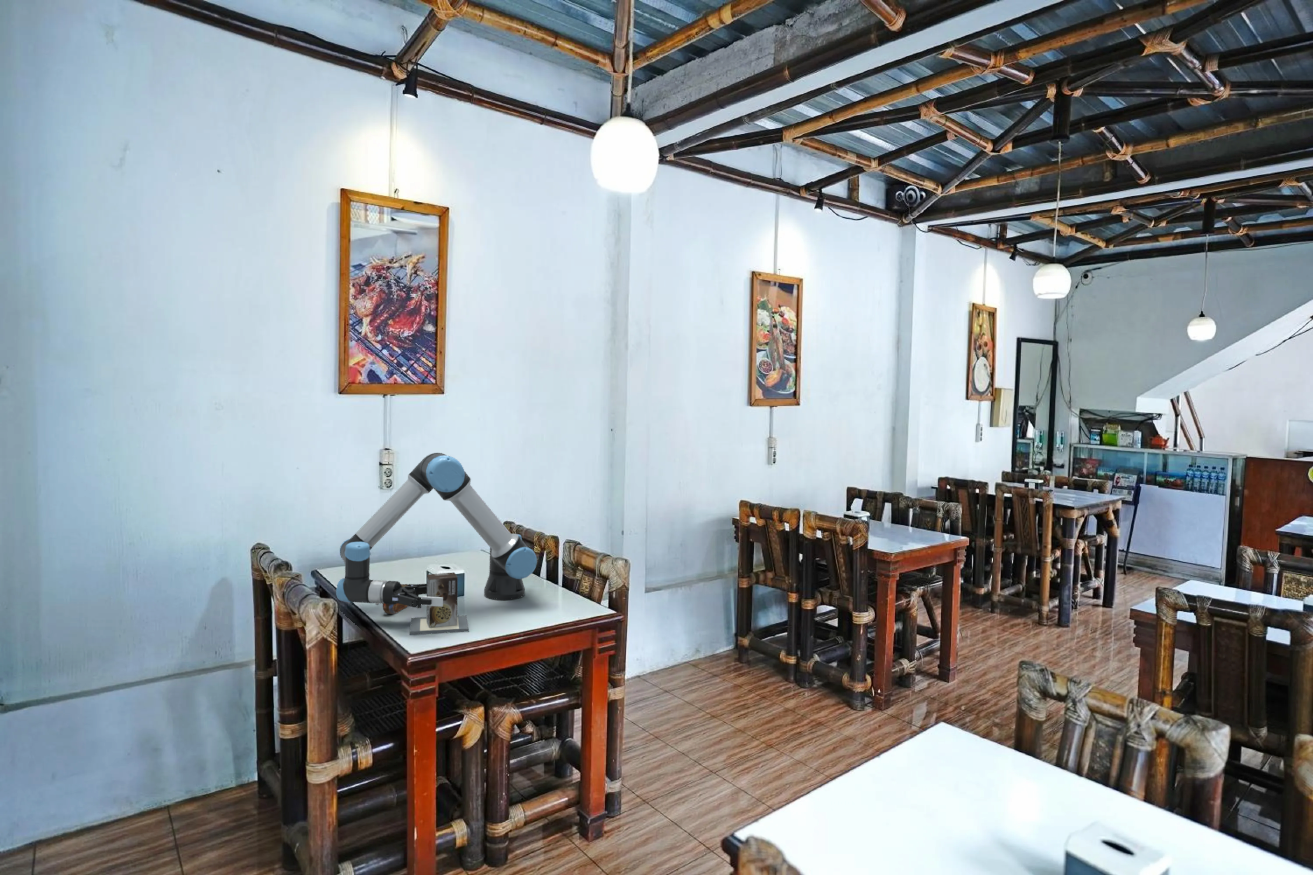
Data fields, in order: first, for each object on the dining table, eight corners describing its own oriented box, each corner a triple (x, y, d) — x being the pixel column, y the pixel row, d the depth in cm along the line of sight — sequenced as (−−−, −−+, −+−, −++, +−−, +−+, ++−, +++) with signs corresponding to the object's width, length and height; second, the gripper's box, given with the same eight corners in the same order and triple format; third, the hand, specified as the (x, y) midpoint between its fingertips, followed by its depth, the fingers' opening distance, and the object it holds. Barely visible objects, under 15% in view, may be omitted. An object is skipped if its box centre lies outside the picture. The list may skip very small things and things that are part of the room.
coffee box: (454, 619, 248) (455, 571, 247) (457, 625, 242) (458, 576, 241) (425, 622, 244) (426, 573, 243) (428, 628, 238) (429, 578, 237)
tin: (388, 617, 251) (389, 592, 251) (380, 616, 252) (380, 591, 251) (412, 604, 266) (412, 581, 265) (404, 603, 267) (404, 580, 266)
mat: (466, 617, 254) (466, 614, 254) (468, 631, 240) (468, 628, 240) (411, 620, 248) (411, 617, 248) (409, 634, 235) (409, 631, 235)
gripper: (401, 592, 256) (461, 596, 255) (368, 615, 232) (435, 619, 230) (401, 571, 256) (462, 574, 255) (369, 591, 231) (436, 595, 230)
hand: (449, 595), depth 243 cm, fingers open, 13 cm apart
